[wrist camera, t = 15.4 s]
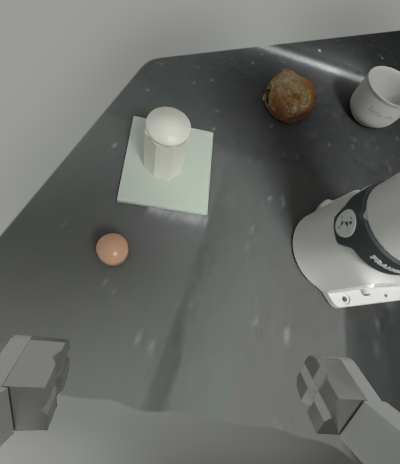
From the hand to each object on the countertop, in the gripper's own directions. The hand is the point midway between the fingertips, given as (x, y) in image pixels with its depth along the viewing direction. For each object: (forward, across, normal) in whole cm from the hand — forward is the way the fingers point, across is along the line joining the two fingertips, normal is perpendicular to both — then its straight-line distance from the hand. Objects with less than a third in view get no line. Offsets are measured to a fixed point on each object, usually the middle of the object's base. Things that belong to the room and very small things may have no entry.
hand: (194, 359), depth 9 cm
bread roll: (+53, -21, -11) cm, 59 cm away
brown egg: (+28, +7, +13) cm, 32 cm away
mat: (+39, +1, +2) cm, 39 cm away
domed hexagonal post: (+39, +2, +2) cm, 39 cm away
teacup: (+55, -41, -13) cm, 70 cm away
